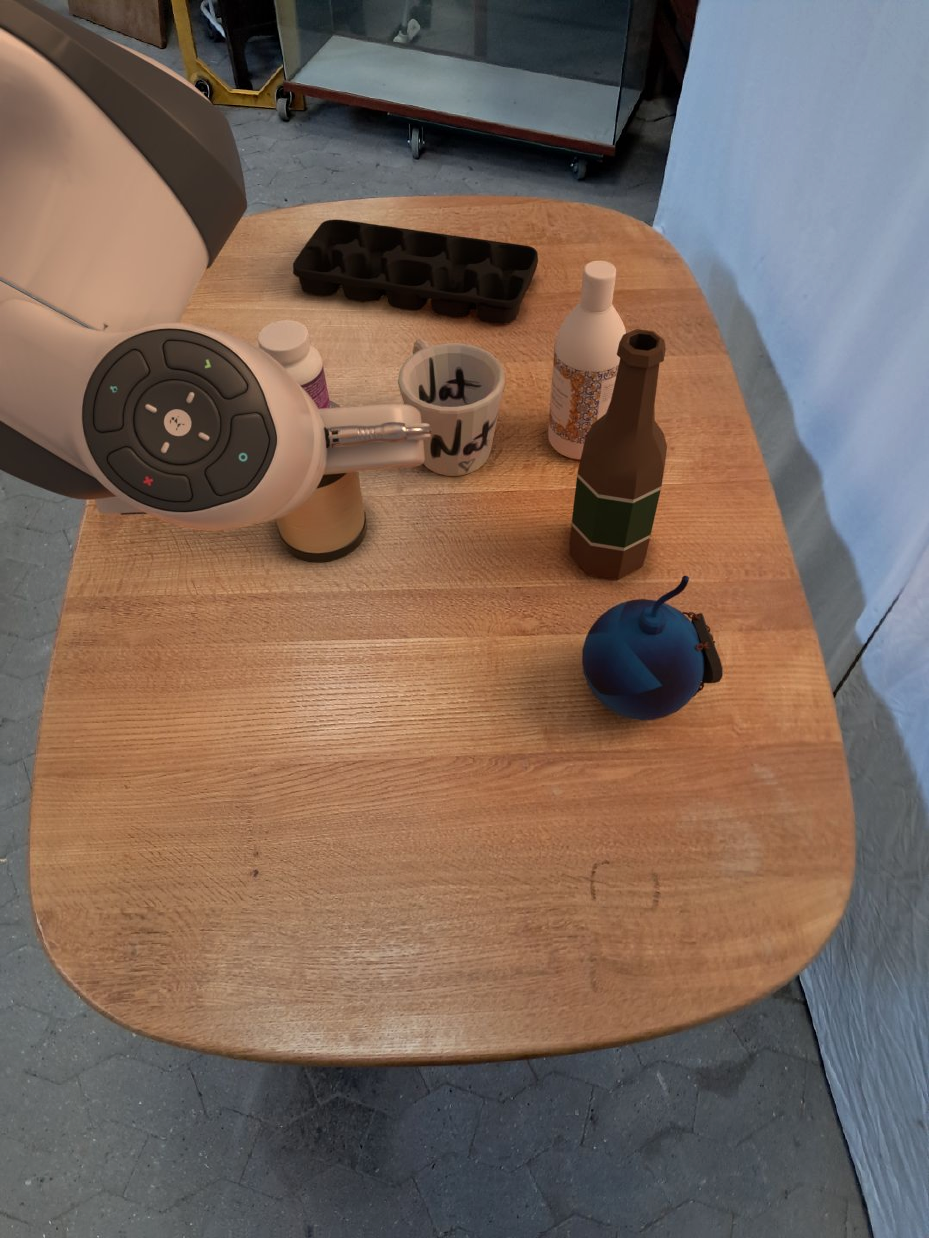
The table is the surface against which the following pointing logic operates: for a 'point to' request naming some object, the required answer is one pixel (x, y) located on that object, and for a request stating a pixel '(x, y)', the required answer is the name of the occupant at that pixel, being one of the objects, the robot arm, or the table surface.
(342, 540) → the copper canister
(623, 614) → the bomb
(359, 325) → the table surface
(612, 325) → the bath foam
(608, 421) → the beer bottle
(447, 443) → the mug
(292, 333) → the pill bottle
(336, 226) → the egg carton
